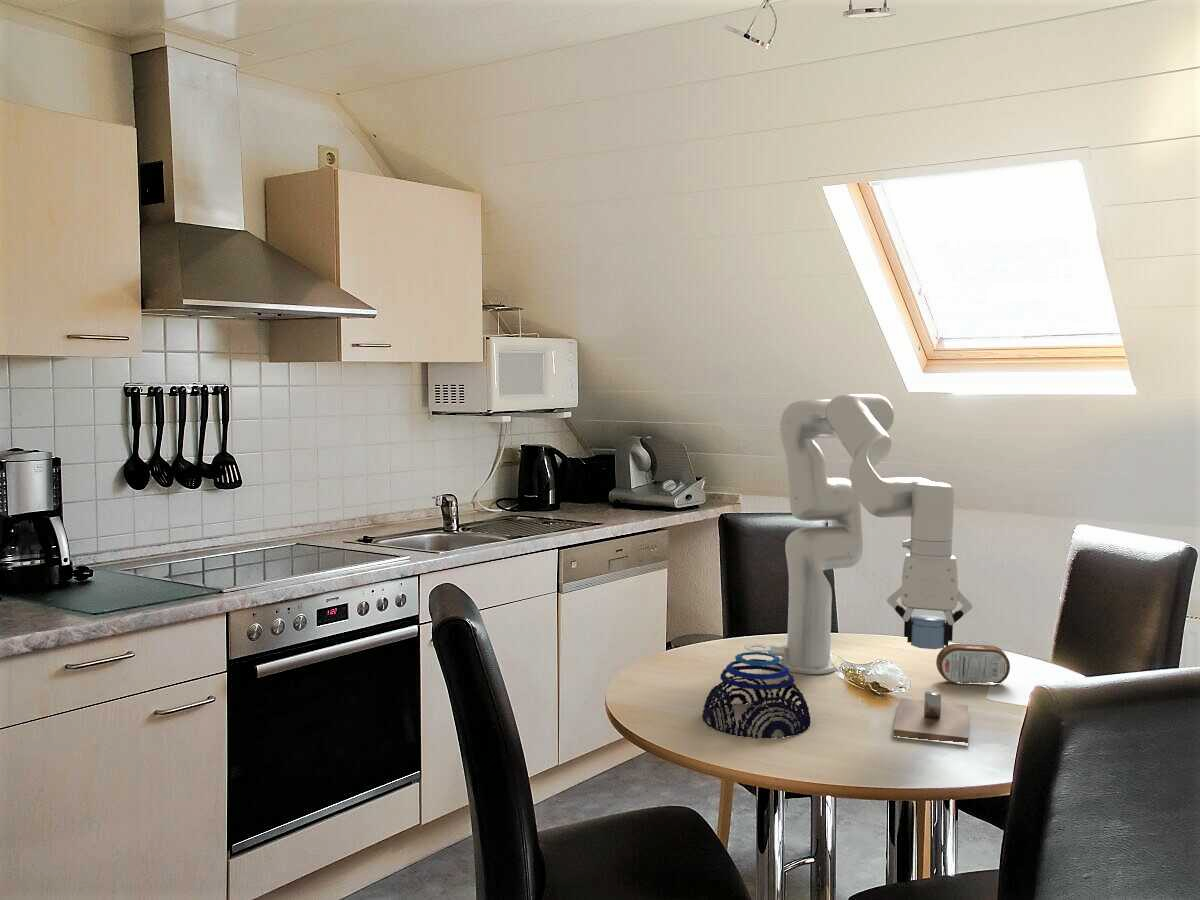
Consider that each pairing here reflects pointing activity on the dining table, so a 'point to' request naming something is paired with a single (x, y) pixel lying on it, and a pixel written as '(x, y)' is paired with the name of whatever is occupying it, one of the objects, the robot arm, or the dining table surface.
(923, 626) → the cap
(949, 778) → the dining table surface
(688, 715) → the dining table surface
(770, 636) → the dining table surface
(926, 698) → the post
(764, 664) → the decorative bowl
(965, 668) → the tin
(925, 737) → the post base
